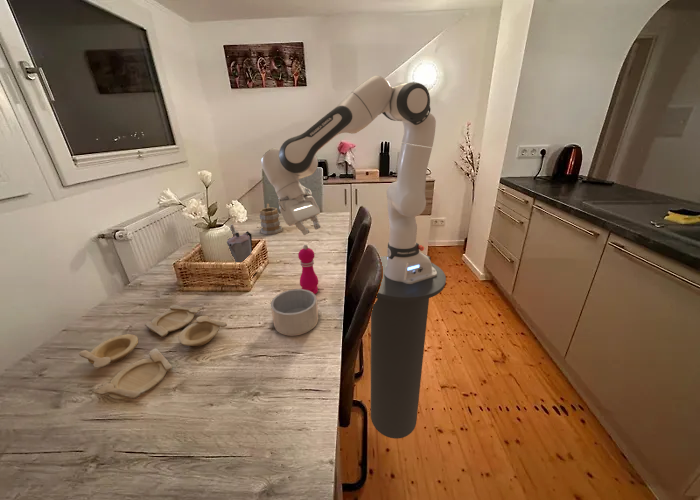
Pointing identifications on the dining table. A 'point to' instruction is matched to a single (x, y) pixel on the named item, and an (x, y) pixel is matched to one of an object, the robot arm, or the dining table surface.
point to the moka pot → (240, 246)
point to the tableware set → (154, 368)
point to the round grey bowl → (294, 312)
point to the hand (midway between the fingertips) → (312, 231)
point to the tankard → (270, 221)
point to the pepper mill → (308, 270)
